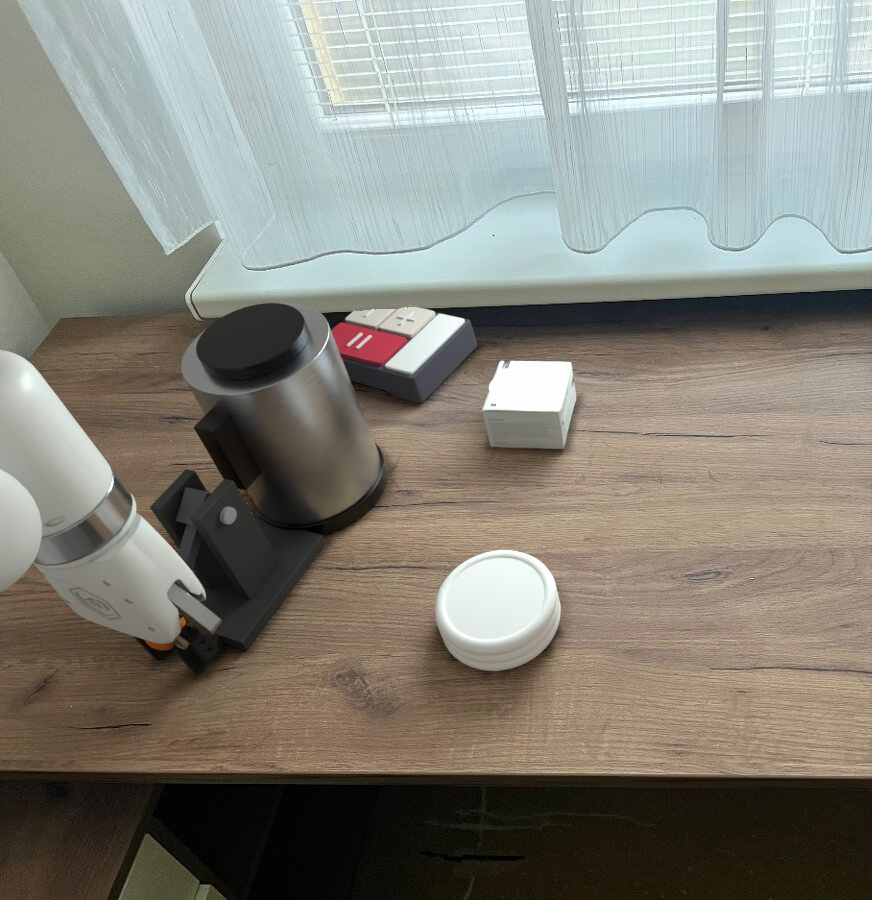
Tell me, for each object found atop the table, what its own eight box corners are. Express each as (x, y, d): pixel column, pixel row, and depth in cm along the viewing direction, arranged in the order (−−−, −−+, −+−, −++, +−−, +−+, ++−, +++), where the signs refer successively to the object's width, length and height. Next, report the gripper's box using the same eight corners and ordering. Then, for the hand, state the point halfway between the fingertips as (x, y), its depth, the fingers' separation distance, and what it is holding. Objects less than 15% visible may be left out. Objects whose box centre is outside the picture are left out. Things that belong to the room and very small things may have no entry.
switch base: (247, 650, 73) (186, 563, 65) (164, 624, 76) (95, 537, 68) (326, 543, 81) (281, 453, 72) (248, 522, 84) (196, 433, 75)
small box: (565, 450, 86) (558, 412, 83) (489, 448, 88) (479, 410, 84) (578, 398, 92) (572, 360, 88) (506, 396, 93) (497, 359, 89)
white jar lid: (477, 560, 77) (469, 535, 75) (580, 589, 74) (575, 563, 72) (420, 653, 71) (409, 629, 69) (530, 689, 68) (523, 664, 65)
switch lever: (189, 654, 71) (159, 655, 68) (158, 644, 72) (127, 644, 69) (235, 498, 72) (208, 493, 69) (204, 491, 73) (176, 485, 70)
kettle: (331, 567, 79) (252, 412, 65) (216, 535, 83) (121, 384, 70) (411, 454, 88) (357, 300, 75) (305, 431, 92) (236, 281, 79)
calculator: (368, 292, 103) (470, 313, 97) (380, 321, 106) (479, 345, 100) (305, 345, 97) (409, 373, 90) (319, 376, 100) (421, 404, 93)
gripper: (-57, 529, 60) (84, 664, 73) (123, 585, 55) (241, 720, 68) (25, 452, 65) (145, 593, 78) (199, 497, 60) (296, 639, 73)
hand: (189, 651), depth 73 cm, fingers closed on switch lever, 3 cm apart
